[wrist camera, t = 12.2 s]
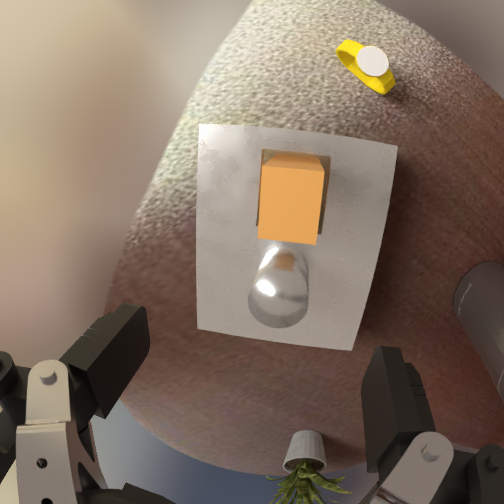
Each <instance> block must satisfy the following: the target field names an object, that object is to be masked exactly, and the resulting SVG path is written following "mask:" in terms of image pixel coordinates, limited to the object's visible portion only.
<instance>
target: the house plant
mask: <svg viewBox="0 0 504 504" xmlns="http://www.w3.org/2000/svg"><path fill="white" fill-rule="evenodd" d="M326 467H327V464H326V458H325V452H324V446H323V440H322V436H321V434H320V433H318V432H316V431H312V430H303V431H299V432H296V433H295V434H294V435H293V437H292V440H291V443H290V446H289V449H288V452H287V455H286V458H285V461H284V463H283V468H284V469H285V470H286V471H287V472H289V473H291V474H290V475H288V476H287V477H288V478H287V477H285V478H287V479H285V480H284V481H282V482H281V483H279V484H278V485H279V486H284V487H282V488H280V489H279V490H277V489H276V490H277V491H280V492H279V493H278V494H276V495H274V496H277V495H278V496H277V497H276V498H278V497H279V496H280V495H281V494H282V493H285V495H284V496H283V497H282V498H281V499H280V500H279V501H278V502H277V503H276V504H279V503H280V502H281V501H282V500H283V499H284V498H285V499H284V501H283V502H282V503H281V504H288V502H289V500H290V498H291V496H292V494H293V492H294V490H295V488H296V490H297V491H296V493H295V496H294V498H293V500H292V501H291V503H290V504H293V503H294V500H295V498H296V496H297V502H296V504H302V500H303V498H304V504H313V503H312V501H313V498H314V499H315V500H316V501H317V502H318V503H319V504H323V503H322V502H321V501H320V500H319V498H318V497H317V496H316V495H315V494H318V493H320V491H318V490H317V489H316V487H315V486H314V484H313V483H312V481H313V482H315V483H316V484H317V485H319V486H321V487H324V488H326V489H329V490H332V491H335V492H339V493H344V494H345V493H346V494H352V493H351V492H350V491H346V490H344V489H341V488H340V487H338V486H336V485H335V484H338V483H340V482H341V480H342V479H343V478H344V477H345V476H344V477H340V478H336V479H326V478H324V477H323V476H322V475H321V474H319V473H320V472H322V471H324V470H325V469H326ZM267 479H268V480H273V481H274V480H281V479H284V478H281V479H271V478H269V477H267ZM311 480H312V481H311ZM307 488H308V489H307ZM320 494H321V493H320ZM318 495H319V494H318ZM285 496H286V497H285ZM319 497H320V495H319ZM276 498H275V499H274V500H276ZM320 499H321V500H322V498H321V497H320ZM274 500H273V501H274ZM273 501H272V502H273ZM322 501H323V500H322ZM272 502H270V504H271V503H272ZM323 502H324V501H323ZM334 502H335V501H334ZM324 503H325V502H324ZM325 504H326V503H325Z"/></svg>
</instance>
